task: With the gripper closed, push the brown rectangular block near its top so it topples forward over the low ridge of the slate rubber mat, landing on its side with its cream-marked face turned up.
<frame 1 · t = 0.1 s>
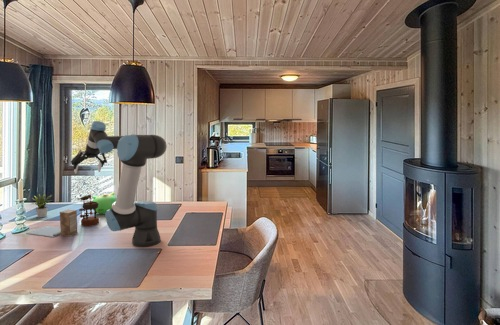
hand: (87, 171, 191), 36 cm above the table, tool tilted 35°, fingers open, 13 cm apart
green rounded lump: (105, 213, 226), on the table
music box: (91, 223, 202), on the table
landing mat: (51, 231, 186), on the table
house plant: (43, 217, 214), on the table
brown rectangular block: (69, 234, 182), on the table
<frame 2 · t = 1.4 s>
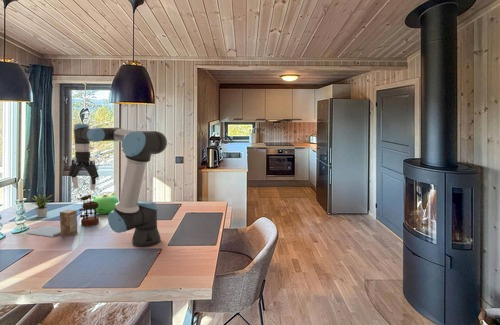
hand: (84, 189, 176), 28 cm above the table, tool pointing down, fingers open, 11 cm apart
nothing on the table moved.
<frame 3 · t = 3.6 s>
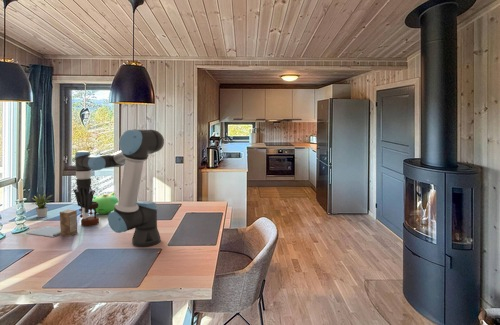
hand: (85, 218, 178), 11 cm above the table, tool pointing down, fingers closed
nothing on the table moved.
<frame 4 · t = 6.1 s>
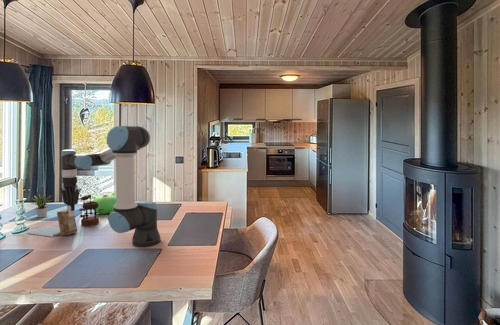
hand: (71, 215, 180), 11 cm above the table, tool pointing down, fingers closed
brown rectangular block: (69, 233, 182), on the table, tilted 8°, touching gripper
everything else where it was.
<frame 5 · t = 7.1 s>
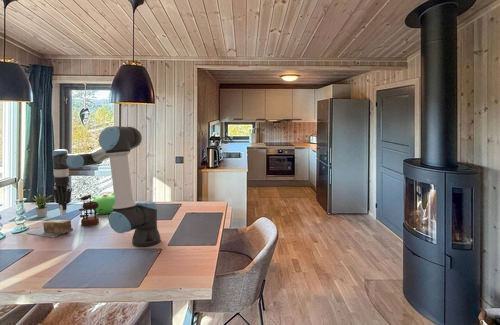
hand: (63, 215, 182), 11 cm above the table, tool pointing down, fingers closed
brown rectangular block: (67, 226, 182), point 5 cm above the table, tilted 95°, touching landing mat
everything else where it was.
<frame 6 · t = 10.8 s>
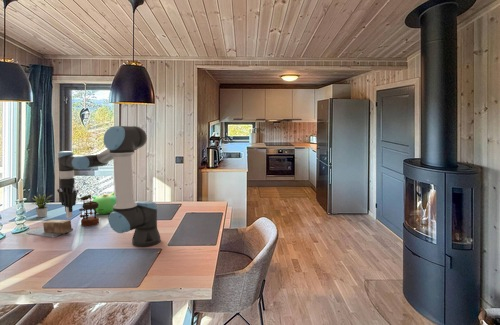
hand: (69, 217, 181), 10 cm above the table, tool pointing down, fingers closed
nothing on the table moved.
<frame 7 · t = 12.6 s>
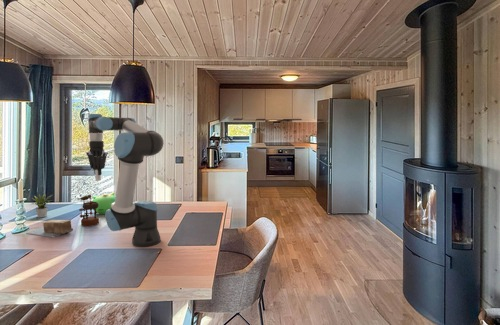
hand: (98, 180, 182), 32 cm above the table, tool pointing down, fingers closed
nothing on the table moved.
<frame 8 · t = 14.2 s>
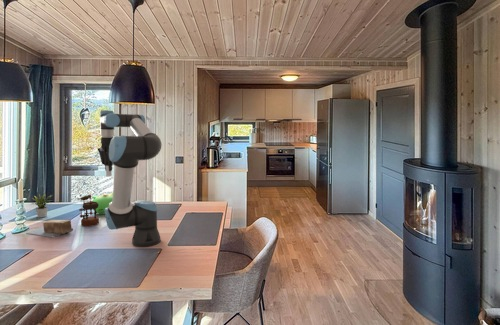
hand: (108, 176, 184), 34 cm above the table, tool pointing down, fingers closed
nothing on the table moved.
at the end: brown rectangular block tilted 95°; brown rectangular block touching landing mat; the gripper is holding nothing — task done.
